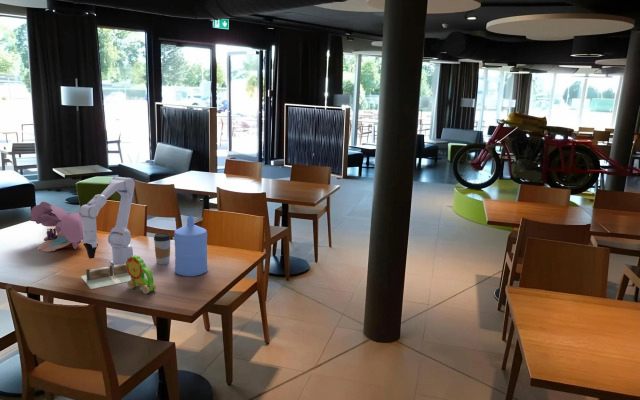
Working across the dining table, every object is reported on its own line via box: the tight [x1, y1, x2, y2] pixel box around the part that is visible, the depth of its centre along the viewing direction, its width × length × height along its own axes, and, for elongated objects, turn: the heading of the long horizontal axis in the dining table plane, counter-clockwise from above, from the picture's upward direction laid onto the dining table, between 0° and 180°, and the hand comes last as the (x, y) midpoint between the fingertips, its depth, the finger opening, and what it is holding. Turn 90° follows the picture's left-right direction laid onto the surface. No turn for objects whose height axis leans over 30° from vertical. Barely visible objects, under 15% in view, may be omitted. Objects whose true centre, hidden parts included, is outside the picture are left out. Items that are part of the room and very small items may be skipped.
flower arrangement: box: [30, 201, 84, 252], centre depth 266 cm, size 35×24×28 cm
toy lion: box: [126, 254, 157, 295], centre depth 217 cm, size 16×5×15 cm, turn 58°
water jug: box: [173, 215, 208, 277], centre depth 239 cm, size 16×16×28 cm
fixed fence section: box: [109, 263, 128, 276], centre depth 234 cm, size 12×2×5 cm, turn 129°
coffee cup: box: [153, 232, 172, 265], centre depth 250 cm, size 8×8×15 cm
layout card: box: [80, 269, 131, 290], centre depth 230 cm, size 24×18×1 cm
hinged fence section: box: [85, 266, 110, 280], centre depth 227 cm, size 10×2×5 cm, turn 129°
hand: (91, 257), depth 229 cm, fingers closed
